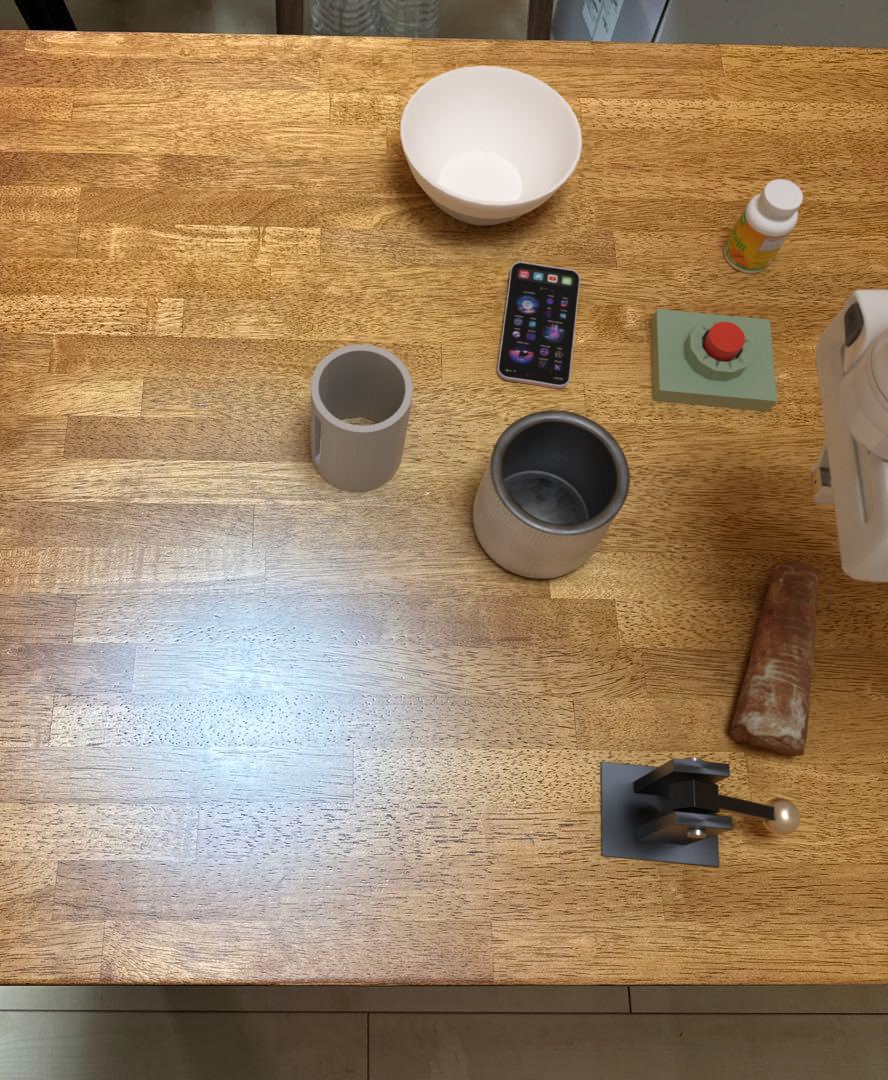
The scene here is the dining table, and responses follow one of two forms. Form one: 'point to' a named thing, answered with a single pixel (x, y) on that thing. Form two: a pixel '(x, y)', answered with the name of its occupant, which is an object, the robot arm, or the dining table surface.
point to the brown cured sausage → (780, 664)
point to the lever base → (658, 813)
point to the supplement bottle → (763, 227)
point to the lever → (733, 805)
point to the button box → (711, 362)
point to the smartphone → (539, 325)
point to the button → (724, 341)
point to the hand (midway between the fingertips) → (821, 487)
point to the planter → (549, 493)
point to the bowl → (489, 142)
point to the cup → (359, 391)
